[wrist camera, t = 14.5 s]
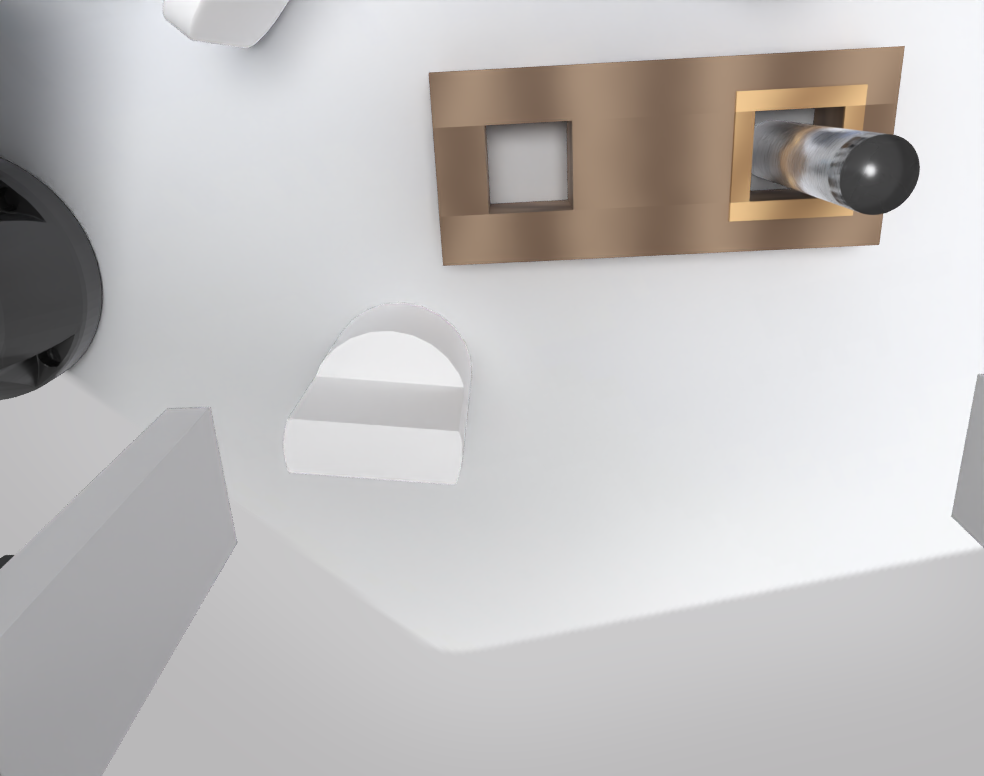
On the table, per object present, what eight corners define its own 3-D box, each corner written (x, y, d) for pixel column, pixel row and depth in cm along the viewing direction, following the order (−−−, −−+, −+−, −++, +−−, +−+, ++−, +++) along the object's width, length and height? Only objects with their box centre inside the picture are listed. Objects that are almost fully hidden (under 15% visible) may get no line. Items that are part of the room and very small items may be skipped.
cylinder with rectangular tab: (332, 428, 52) (284, 523, 40) (332, 296, 48) (280, 360, 37) (467, 438, 52) (457, 536, 41) (476, 308, 49) (468, 374, 37)
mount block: (447, 251, 47) (442, 266, 43) (435, 73, 44) (428, 72, 40) (848, 232, 46) (880, 245, 43) (869, 49, 43) (906, 45, 39)
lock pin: (739, 179, 45) (835, 217, 32) (743, 121, 44) (843, 136, 31) (795, 176, 45) (913, 212, 32) (800, 118, 44) (924, 131, 31)
